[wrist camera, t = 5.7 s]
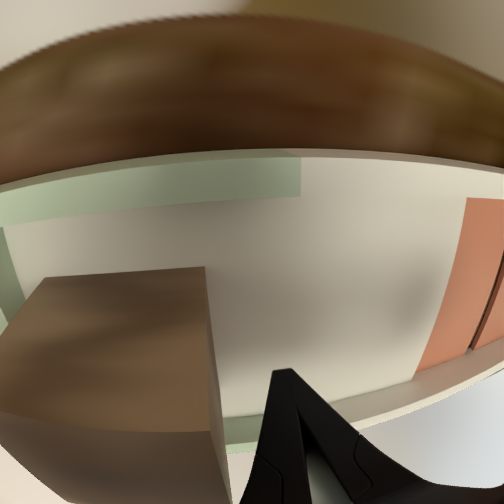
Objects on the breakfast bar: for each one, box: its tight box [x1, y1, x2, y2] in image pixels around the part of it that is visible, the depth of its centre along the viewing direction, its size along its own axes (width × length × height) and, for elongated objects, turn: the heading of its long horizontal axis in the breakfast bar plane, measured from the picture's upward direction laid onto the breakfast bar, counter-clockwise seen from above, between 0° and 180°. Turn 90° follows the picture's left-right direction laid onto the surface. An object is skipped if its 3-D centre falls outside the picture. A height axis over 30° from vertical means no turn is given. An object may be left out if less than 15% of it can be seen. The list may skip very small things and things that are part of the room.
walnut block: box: [0, 266, 232, 504], centre depth 8 cm, size 6×6×6 cm
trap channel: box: [0, 148, 504, 454], centre depth 11 cm, size 30×13×2 cm, turn 91°
